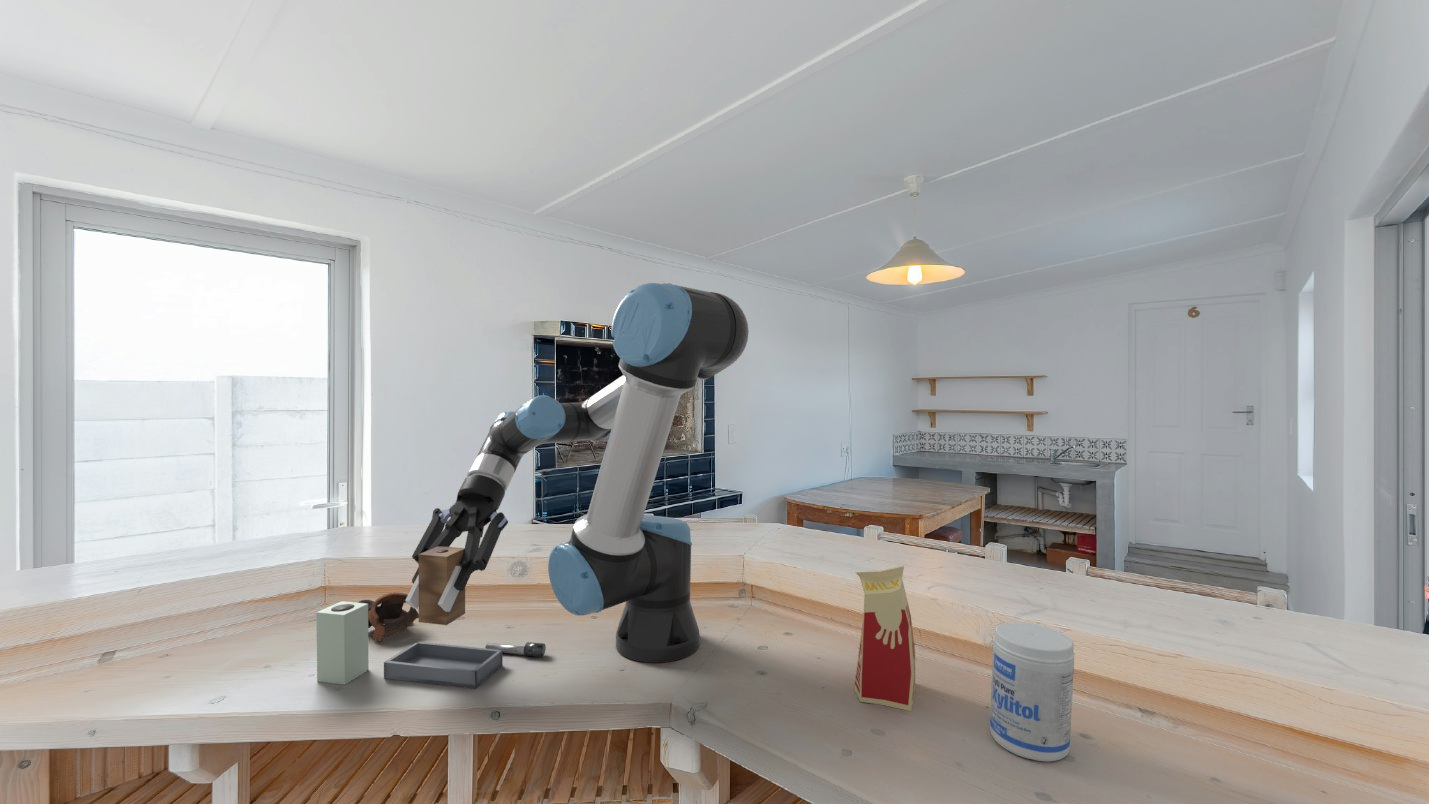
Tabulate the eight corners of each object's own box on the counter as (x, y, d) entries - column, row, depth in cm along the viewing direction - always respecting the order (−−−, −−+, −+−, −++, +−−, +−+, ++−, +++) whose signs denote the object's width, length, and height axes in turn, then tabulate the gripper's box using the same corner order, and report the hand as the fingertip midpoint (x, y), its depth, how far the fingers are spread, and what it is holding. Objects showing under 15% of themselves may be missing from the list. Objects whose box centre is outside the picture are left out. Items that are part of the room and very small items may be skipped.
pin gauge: (545, 653, 107) (545, 641, 107) (539, 659, 105) (539, 646, 105) (490, 648, 109) (490, 636, 109) (483, 653, 107) (483, 641, 107)
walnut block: (465, 613, 102) (465, 547, 102) (446, 625, 97) (446, 556, 97) (438, 610, 103) (438, 545, 103) (418, 622, 98) (418, 554, 98)
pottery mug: (426, 622, 122) (429, 593, 118) (402, 662, 113) (404, 632, 110) (366, 607, 121) (366, 578, 117) (337, 647, 112) (336, 616, 109)
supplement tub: (980, 744, 81) (983, 635, 81) (1000, 715, 88) (1003, 614, 88) (1062, 775, 75) (1066, 657, 74) (1077, 741, 82) (1081, 633, 82)
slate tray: (502, 665, 102) (502, 650, 102) (474, 688, 94) (474, 672, 94) (417, 656, 105) (417, 641, 105) (383, 678, 98) (383, 662, 97)
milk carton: (915, 683, 98) (917, 559, 97) (914, 712, 89) (916, 576, 88) (857, 673, 101) (859, 553, 100) (850, 701, 92) (852, 569, 91)
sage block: (368, 670, 100) (368, 603, 100) (344, 684, 95) (344, 614, 95) (342, 667, 101) (341, 600, 101) (317, 681, 96) (316, 612, 96)
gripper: (538, 499, 113) (488, 621, 97) (450, 494, 116) (389, 611, 101) (524, 475, 107) (469, 600, 92) (432, 470, 111) (364, 590, 95)
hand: (427, 606), depth 96 cm, fingers closed on walnut block, 5 cm apart
